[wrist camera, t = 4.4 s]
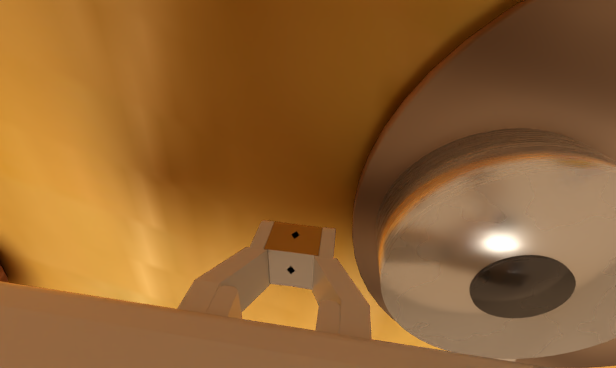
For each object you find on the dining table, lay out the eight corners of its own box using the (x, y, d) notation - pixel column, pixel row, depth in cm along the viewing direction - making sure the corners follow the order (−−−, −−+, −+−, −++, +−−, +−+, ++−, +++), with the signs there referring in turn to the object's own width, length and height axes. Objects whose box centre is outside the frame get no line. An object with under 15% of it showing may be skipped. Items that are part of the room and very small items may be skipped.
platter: (392, -81, 8) (397, -92, 7) (1379, -91, 6) (1542, -108, 5) (337, 324, 18) (336, 338, 18) (675, 374, 16) (691, 392, 15)
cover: (395, 119, 10) (411, 157, 7) (679, 138, 9) (818, 191, 6) (363, 283, 15) (365, 343, 12) (546, 307, 14) (592, 378, 11)
